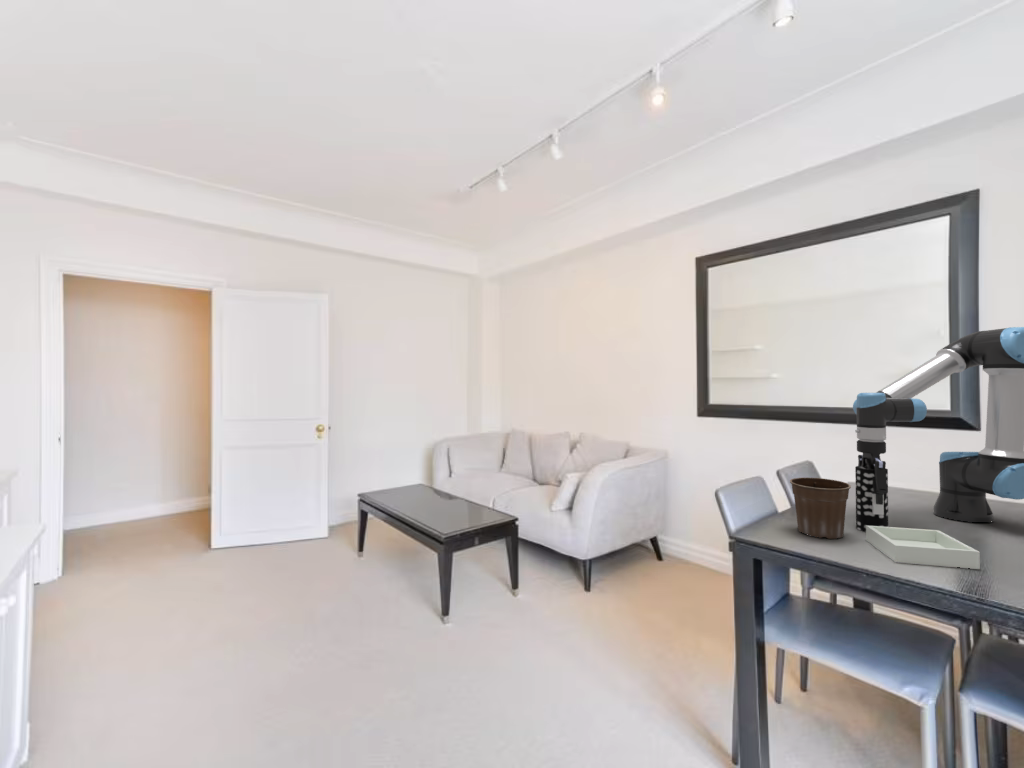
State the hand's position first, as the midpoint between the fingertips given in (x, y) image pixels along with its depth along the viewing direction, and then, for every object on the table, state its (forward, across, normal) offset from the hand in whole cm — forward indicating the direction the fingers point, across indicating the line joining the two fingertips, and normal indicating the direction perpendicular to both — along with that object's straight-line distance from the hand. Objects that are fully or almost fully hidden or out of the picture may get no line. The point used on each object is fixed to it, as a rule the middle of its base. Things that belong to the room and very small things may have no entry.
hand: (871, 510), depth 152 cm
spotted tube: (+7, 0, 0) cm, 7 cm away
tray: (+6, +21, +3) cm, 22 cm away
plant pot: (+7, +8, -17) cm, 20 cm away
